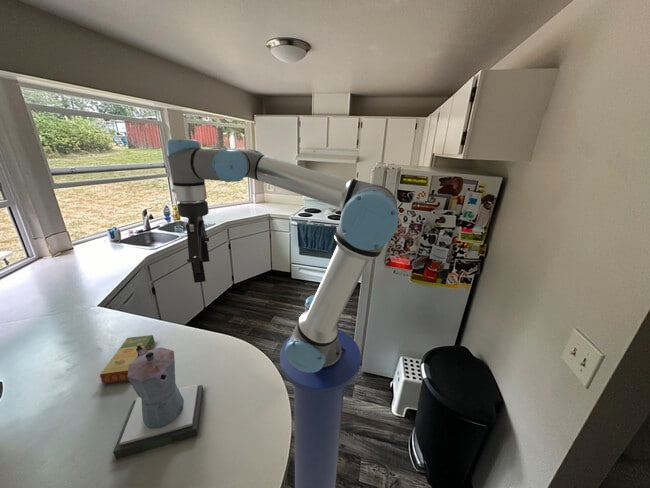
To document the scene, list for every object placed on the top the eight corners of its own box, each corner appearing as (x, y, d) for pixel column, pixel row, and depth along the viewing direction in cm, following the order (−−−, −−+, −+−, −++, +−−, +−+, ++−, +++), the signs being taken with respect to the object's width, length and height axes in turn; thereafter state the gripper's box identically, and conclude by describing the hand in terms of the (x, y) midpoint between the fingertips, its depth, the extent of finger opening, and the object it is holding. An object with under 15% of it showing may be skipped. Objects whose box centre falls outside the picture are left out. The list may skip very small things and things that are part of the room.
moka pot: (159, 446, 57) (139, 382, 50) (127, 410, 64) (106, 350, 57) (198, 412, 65) (186, 352, 57) (165, 383, 72) (151, 327, 65)
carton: (102, 385, 74) (98, 374, 73) (129, 346, 89) (126, 336, 87) (133, 380, 76) (130, 370, 74) (155, 343, 91) (153, 333, 89)
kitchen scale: (203, 390, 74) (201, 382, 73) (197, 436, 62) (195, 427, 61) (135, 406, 69) (132, 398, 67) (115, 460, 57) (111, 450, 56)
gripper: (184, 193, 77) (194, 255, 85) (165, 212, 55) (181, 294, 63) (210, 192, 80) (218, 253, 87) (202, 210, 58) (213, 289, 65)
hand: (202, 270), depth 75 cm, fingers open, 13 cm apart
